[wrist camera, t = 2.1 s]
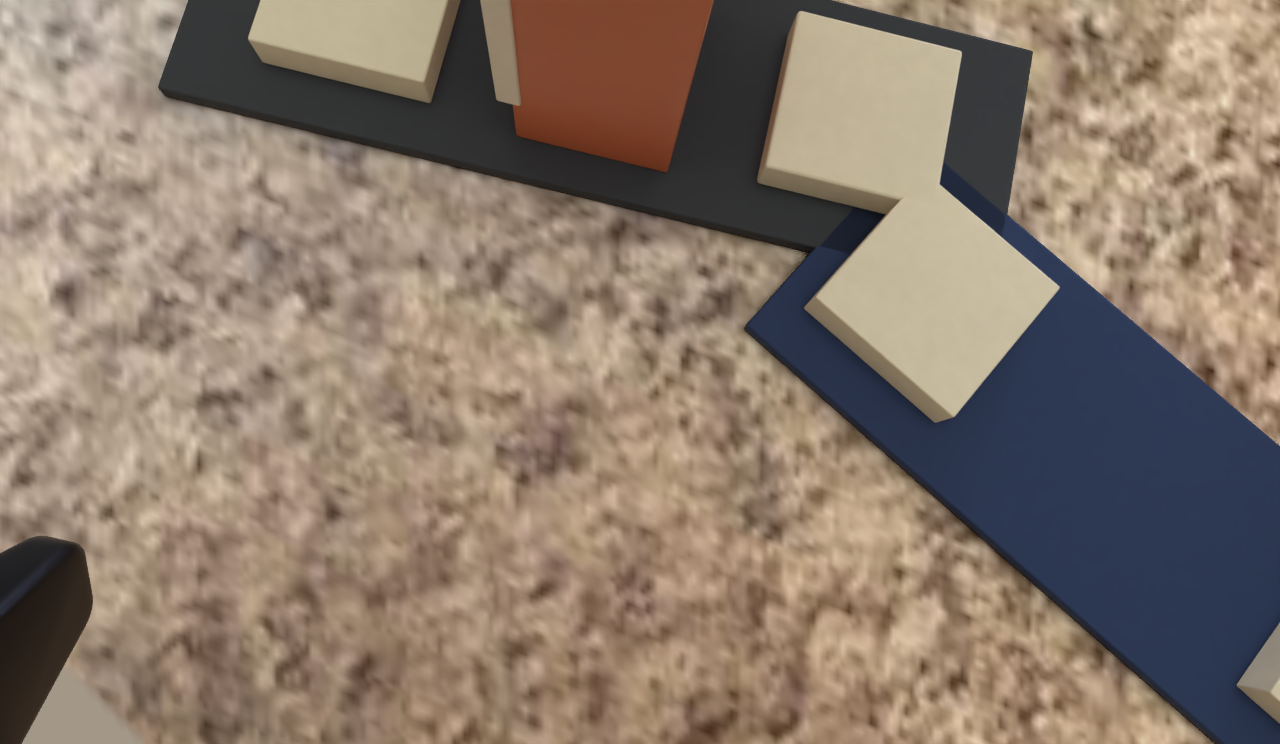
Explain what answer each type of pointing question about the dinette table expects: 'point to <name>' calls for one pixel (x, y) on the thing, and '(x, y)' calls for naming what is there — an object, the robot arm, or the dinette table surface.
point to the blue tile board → (1055, 441)
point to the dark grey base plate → (711, 123)
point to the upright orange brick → (597, 71)
